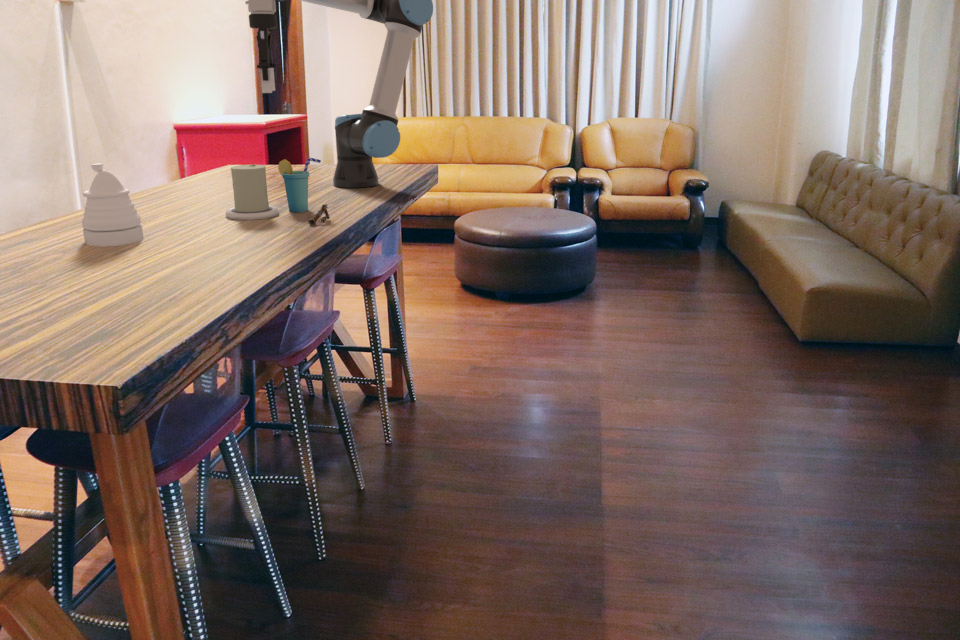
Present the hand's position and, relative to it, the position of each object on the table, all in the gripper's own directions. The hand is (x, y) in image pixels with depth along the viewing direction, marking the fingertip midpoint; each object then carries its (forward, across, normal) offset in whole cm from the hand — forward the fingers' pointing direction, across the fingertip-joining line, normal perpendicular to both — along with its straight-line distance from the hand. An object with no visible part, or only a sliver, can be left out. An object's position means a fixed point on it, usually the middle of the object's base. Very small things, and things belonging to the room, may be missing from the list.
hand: (268, 92), depth 234 cm
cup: (+32, +17, +8) cm, 37 cm away
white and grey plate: (+32, +22, -6) cm, 39 cm away
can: (+30, +21, -5) cm, 37 cm away
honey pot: (+32, +48, -35) cm, 67 cm away
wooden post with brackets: (+32, +36, +13) cm, 50 cm away
